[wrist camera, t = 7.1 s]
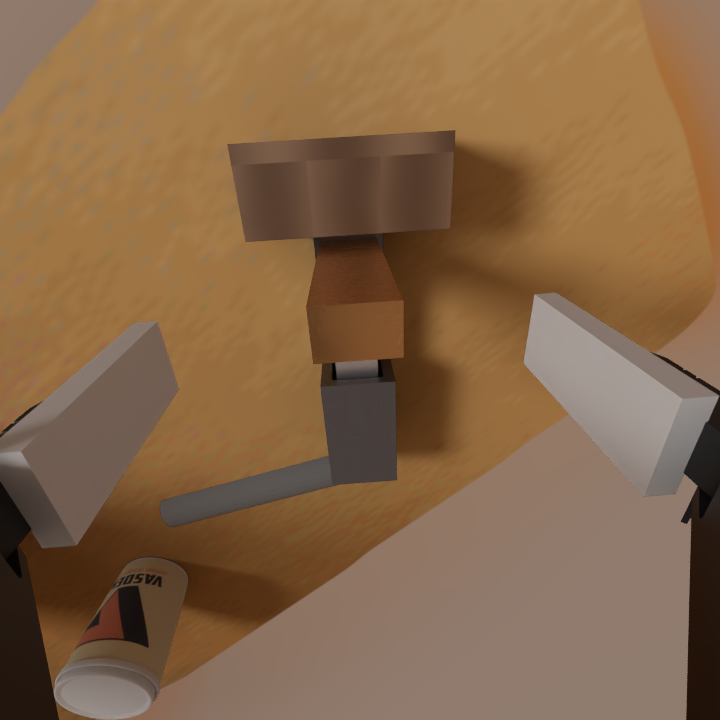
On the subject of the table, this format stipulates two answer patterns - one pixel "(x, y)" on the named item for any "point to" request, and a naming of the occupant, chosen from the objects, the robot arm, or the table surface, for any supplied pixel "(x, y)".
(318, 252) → the sliding bar
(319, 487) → the half round rod
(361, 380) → the dark grey block
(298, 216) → the walnut socket
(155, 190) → the table surface
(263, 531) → the table surface
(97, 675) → the coffee cup
